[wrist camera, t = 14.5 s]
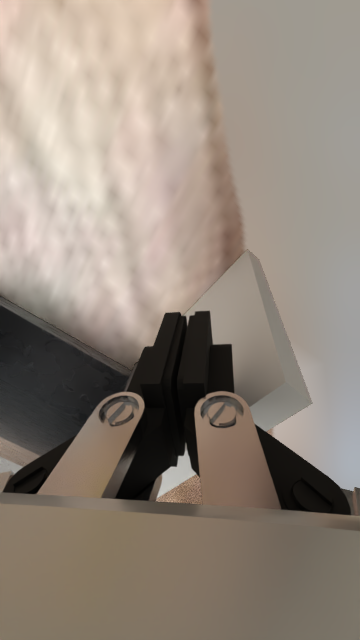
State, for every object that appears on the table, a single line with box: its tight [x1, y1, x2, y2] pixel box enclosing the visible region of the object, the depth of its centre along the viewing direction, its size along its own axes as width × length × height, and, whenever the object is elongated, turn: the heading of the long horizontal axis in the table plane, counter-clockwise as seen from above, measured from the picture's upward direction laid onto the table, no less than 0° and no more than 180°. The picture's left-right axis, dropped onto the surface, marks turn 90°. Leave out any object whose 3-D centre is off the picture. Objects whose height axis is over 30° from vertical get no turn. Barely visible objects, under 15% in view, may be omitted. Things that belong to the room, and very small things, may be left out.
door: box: [123, 249, 312, 498], centre depth 19 cm, size 16×2×14 cm, turn 141°
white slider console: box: [0, 296, 132, 475], centre depth 24 cm, size 16×10×12 cm, turn 57°
